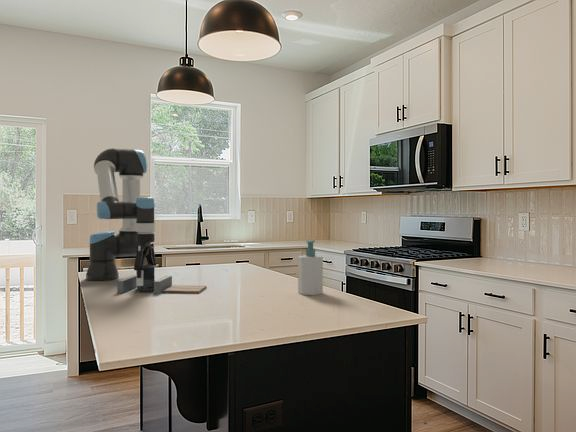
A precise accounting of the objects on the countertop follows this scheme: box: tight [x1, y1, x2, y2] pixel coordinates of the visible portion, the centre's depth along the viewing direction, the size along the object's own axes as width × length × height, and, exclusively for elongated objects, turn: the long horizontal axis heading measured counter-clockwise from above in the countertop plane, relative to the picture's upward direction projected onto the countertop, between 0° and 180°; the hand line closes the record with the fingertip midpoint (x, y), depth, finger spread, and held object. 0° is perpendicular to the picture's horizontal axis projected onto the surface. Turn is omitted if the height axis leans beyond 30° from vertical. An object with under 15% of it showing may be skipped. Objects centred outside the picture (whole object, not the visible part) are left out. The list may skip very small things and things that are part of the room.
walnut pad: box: [162, 284, 207, 295], centre depth 198 cm, size 13×15×1 cm
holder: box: [116, 274, 173, 295], centre depth 199 cm, size 16×18×5 cm
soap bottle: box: [297, 239, 324, 296], centre depth 193 cm, size 10×9×22 cm
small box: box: [136, 263, 156, 293], centre depth 199 cm, size 11×6×10 cm, turn 25°
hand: (145, 283), depth 199 cm, fingers closed on small box, 12 cm apart
